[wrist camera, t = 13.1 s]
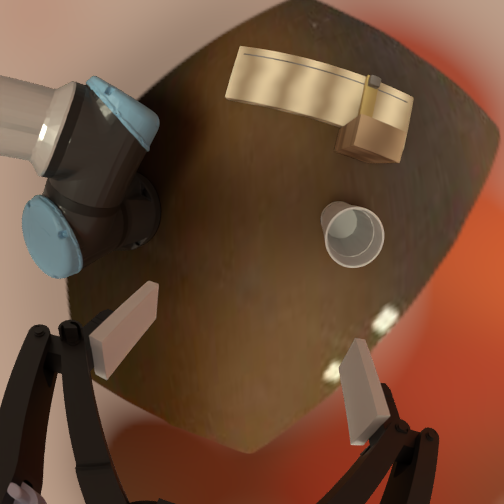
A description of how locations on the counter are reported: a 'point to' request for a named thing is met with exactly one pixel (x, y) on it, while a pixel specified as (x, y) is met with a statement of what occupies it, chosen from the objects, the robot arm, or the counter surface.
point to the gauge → (370, 132)
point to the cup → (351, 234)
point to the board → (310, 89)
